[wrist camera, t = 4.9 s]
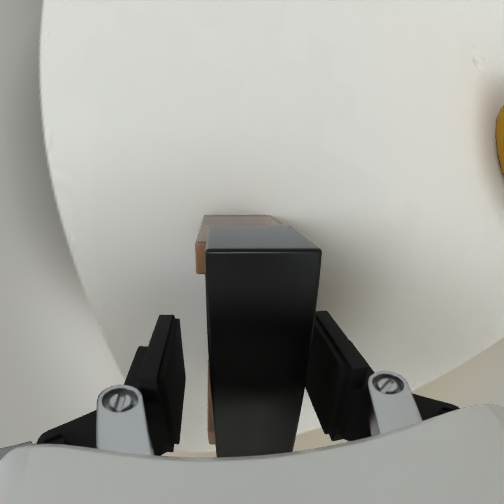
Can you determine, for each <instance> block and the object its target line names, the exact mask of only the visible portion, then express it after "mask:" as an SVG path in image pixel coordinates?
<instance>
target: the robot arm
mask: <svg viewBox="0 0 504 504" xmlns="http://www.w3.org/2000/svg"><path fill="white" fill-rule="evenodd" d="M185 380H186V378H185V367H184V358H183V349H182V339H181V328H180V319H175V317H174V315H159V318H158V320H157V323H156V326H155V329H154V331H153V334H152V337H151V340H150V343H149V346H148V347H147V346H139V347H138V349H137V352H136V354H135V357H134V359H133V362H132V364H131V367H130V370H129V372H128V375H127V378H126V380H125V383H124V385H116V386H111V387H109V388H106V389H105V390H104V391H102V392H101V393H100V395H99V396H98V399H97V410H95V411H93V412H91V413H89V414H86V415H84V416H82V417H79V418H77V419H75V420H73V421H70V422H68V423H65V424H63V425H60V426H58V427H56V428H53V429H51V430H48V431H47V432H45V433H43V434H42V435H41V436H40V438H39V439H38V441H37V444H32V442H31V441H30V442H26V443H22V444H18V445H14V446H10V447H5V448H1V449H0V504H504V407H502V406H499V405H475V406H470V407H464V408H461V409H460V408H459V407H457V406H455V405H452V404H449V403H445V402H441V401H437V400H434V399H430V398H426V397H423V396H419V395H416V394H412V393H411V390H410V388H409V385H408V383H407V381H406V380H405V379H404V378H403V377H402V376H401V375H399V374H397V373H394V372H390V371H379V372H376V373H374V371H373V370H372V369H371V367H370V366H369V365H368V363H367V362H366V361H365V359H364V358H363V357H362V355H361V354H360V353H359V351H358V350H357V349H356V347H355V346H354V345H353V343H352V342H351V341H350V340H349V339H348V338H347V337H346V335H345V334H344V333H343V331H342V330H341V329H340V327H339V326H338V325H337V324H336V322H335V321H334V320H333V318H332V317H331V316H330V314H329V313H328V312H327V311H316V313H315V321H314V329H313V337H312V344H311V351H310V358H309V364H308V371H307V377H306V383H305V388H306V390H307V392H308V395H309V397H310V400H311V402H312V405H313V407H314V409H315V412H316V414H317V417H318V419H319V422H320V424H321V426H322V429H323V431H324V433H325V434H329V435H330V437H331V440H332V441H336V440H341V439H345V440H347V442H346V443H341V444H336V445H332V446H326V447H321V448H315V449H309V450H303V451H295V452H288V453H279V454H270V455H258V456H244V457H218V458H194V457H193V458H192V457H169V456H161V455H162V454H164V453H166V452H173V450H174V444H179V442H180V431H181V420H182V410H183V400H184V391H185Z"/></svg>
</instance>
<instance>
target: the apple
mask: <svg viewBox="0 0 504 504" xmlns="http://www.w3.org/2000/svg"><path fill="white" fill-rule="evenodd" d="M496 140H497V149H498V156H499V160H500V165H501V169H502V172H503V174H504V106H503V107H502V108H501V110H500V112H499V115H498V117H497V121H496Z"/></svg>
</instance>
